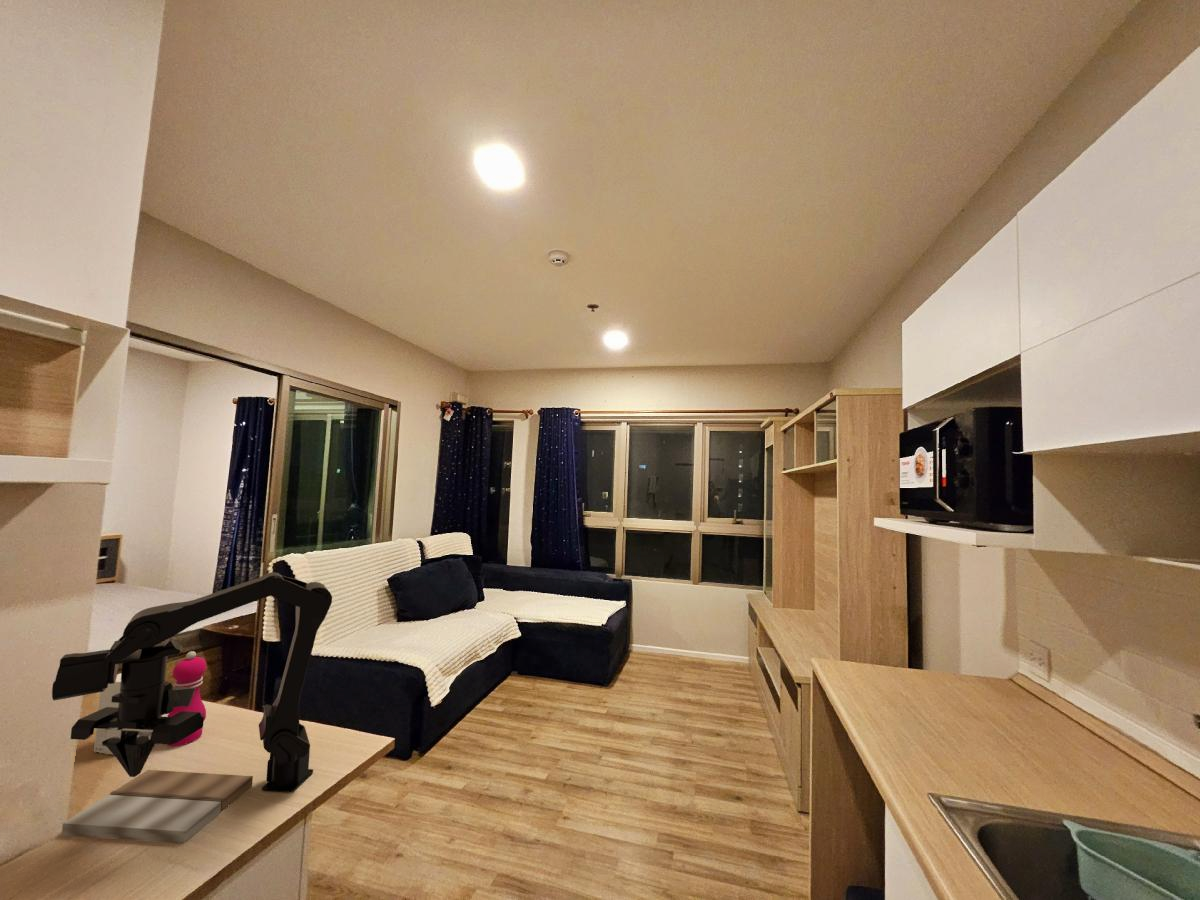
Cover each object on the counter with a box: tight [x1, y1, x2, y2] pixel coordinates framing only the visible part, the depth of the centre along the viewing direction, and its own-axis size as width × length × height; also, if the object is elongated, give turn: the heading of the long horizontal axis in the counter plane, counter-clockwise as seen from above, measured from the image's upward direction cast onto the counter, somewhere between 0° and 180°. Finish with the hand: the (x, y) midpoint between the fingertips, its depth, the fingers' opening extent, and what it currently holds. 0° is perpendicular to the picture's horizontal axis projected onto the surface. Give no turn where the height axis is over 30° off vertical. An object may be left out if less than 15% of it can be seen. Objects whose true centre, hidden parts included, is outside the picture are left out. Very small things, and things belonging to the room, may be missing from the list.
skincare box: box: [93, 672, 122, 755], centre depth 105 cm, size 8×7×16 cm
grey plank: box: [61, 794, 222, 845], centre depth 82 cm, size 22×7×2 cm, turn 88°
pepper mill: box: [166, 650, 208, 747], centre depth 107 cm, size 7×7×20 cm
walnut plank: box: [109, 769, 254, 812], centre depth 89 cm, size 22×7×2 cm, turn 88°
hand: (135, 775), depth 80 cm, fingers closed
